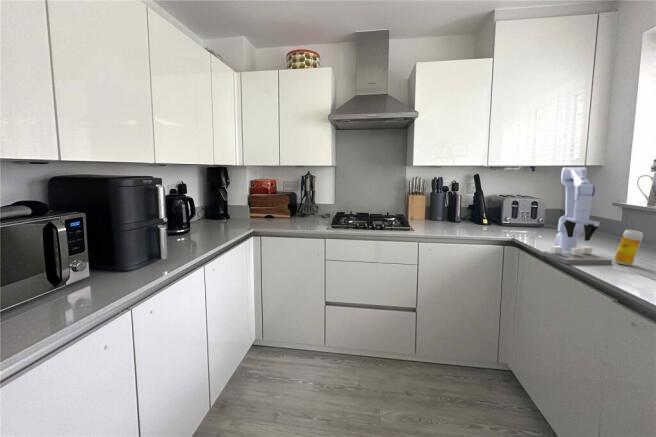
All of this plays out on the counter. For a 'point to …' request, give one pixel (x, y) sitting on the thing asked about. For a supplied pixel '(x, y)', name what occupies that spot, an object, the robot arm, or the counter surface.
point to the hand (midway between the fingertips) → (578, 238)
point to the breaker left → (556, 249)
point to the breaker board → (577, 258)
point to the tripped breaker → (576, 251)
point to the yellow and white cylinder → (628, 247)
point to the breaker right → (586, 249)
